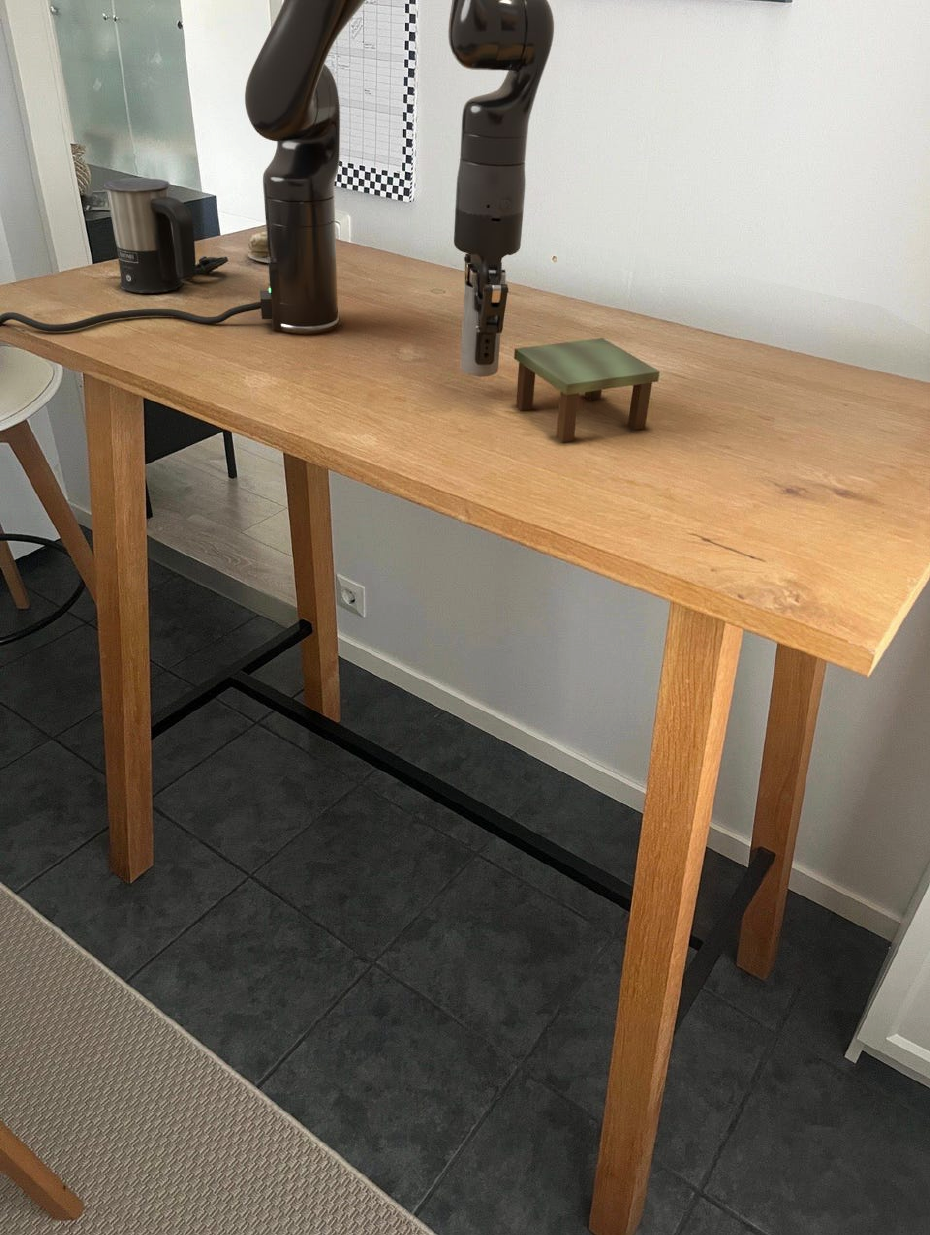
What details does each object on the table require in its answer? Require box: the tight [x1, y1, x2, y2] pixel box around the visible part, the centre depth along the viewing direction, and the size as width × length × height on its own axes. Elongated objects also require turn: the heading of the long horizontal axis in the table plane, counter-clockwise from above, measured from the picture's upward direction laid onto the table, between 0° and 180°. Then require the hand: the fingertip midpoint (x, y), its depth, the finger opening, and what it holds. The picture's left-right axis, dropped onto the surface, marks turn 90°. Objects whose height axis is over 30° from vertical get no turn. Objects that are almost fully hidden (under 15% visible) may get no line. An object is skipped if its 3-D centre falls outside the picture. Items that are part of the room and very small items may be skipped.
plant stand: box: [513, 337, 661, 443], centre depth 114 cm, size 12×12×7 cm
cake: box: [246, 231, 268, 263], centre depth 167 cm, size 10×10×5 cm
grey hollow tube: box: [459, 280, 502, 377], centre depth 116 cm, size 4×4×10 cm
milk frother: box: [103, 177, 229, 294], centre depth 150 cm, size 14×16×15 cm
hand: (480, 355), depth 117 cm, fingers closed on grey hollow tube, 4 cm apart
